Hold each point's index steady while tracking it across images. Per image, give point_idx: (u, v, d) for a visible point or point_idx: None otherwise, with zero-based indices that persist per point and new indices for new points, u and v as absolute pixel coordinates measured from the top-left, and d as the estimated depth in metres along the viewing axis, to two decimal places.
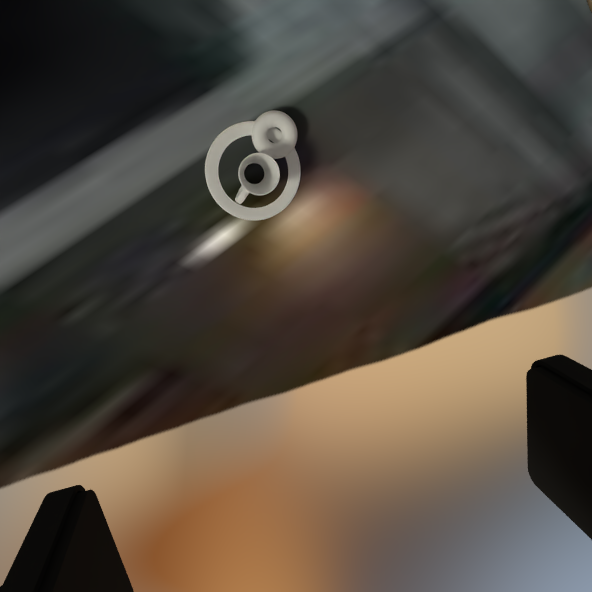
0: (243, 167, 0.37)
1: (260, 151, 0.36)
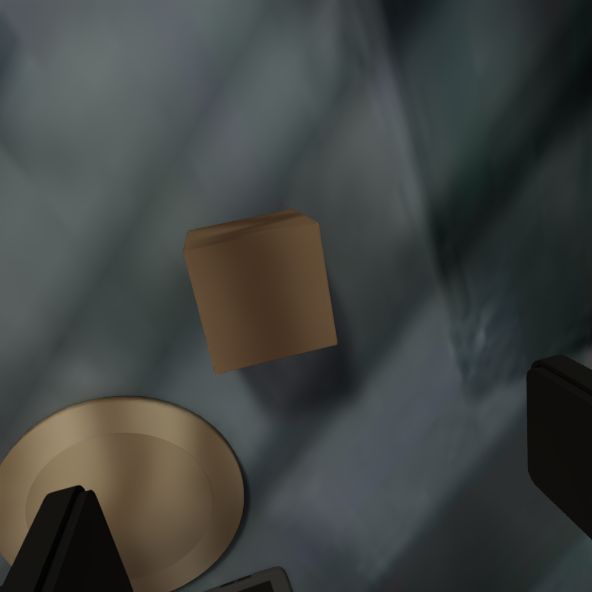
0: None
1: None
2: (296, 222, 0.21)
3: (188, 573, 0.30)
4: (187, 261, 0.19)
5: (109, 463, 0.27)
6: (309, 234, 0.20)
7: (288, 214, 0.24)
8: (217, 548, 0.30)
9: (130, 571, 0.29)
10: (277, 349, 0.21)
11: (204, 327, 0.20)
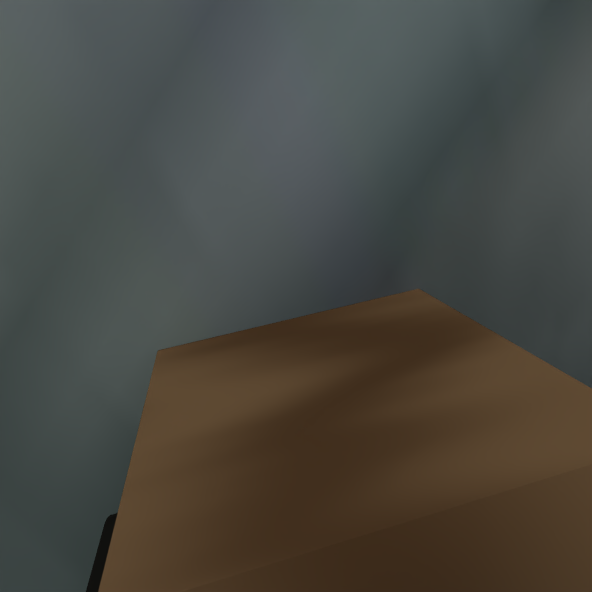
0: None
1: None
2: (530, 397, 0.06)
3: None
4: None
5: None
6: None
7: (431, 319, 0.09)
8: None
9: None
10: None
11: None
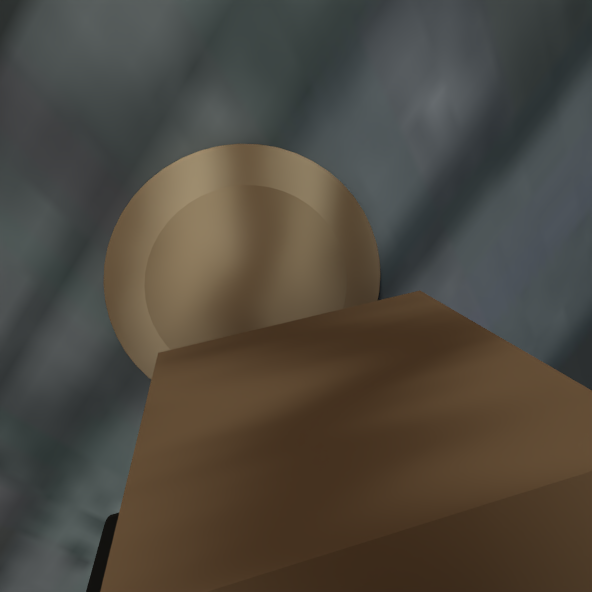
0: None
1: None
2: (533, 401, 0.06)
3: None
4: None
5: (240, 225, 0.23)
6: None
7: (433, 321, 0.09)
8: None
9: None
10: None
11: None
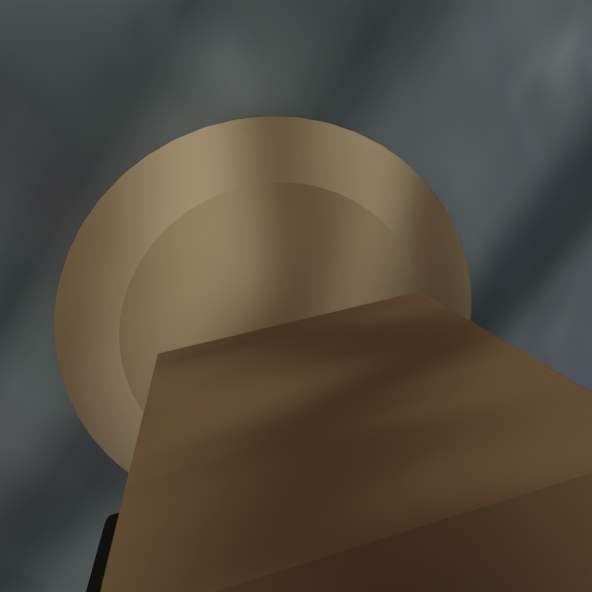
0: None
1: None
2: (533, 402, 0.06)
3: None
4: None
5: (267, 244, 0.15)
6: None
7: (433, 322, 0.09)
8: None
9: None
10: None
11: None
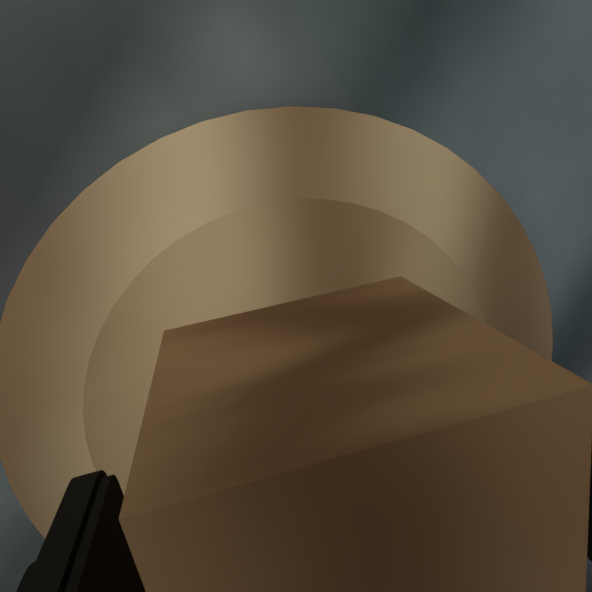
0: None
1: None
2: (483, 359, 0.07)
3: None
4: (136, 550, 0.05)
5: (288, 283, 0.11)
6: (559, 422, 0.06)
7: (408, 301, 0.10)
8: None
9: None
10: None
11: None
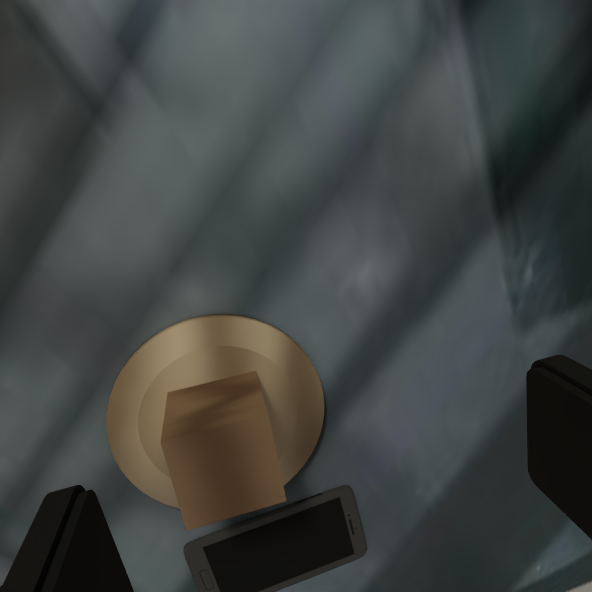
0: None
1: None
2: (252, 406, 0.26)
3: None
4: (163, 449, 0.24)
5: (212, 374, 0.30)
6: (261, 423, 0.25)
7: (249, 384, 0.29)
8: (298, 461, 0.33)
9: None
10: (237, 508, 0.26)
11: (177, 496, 0.25)
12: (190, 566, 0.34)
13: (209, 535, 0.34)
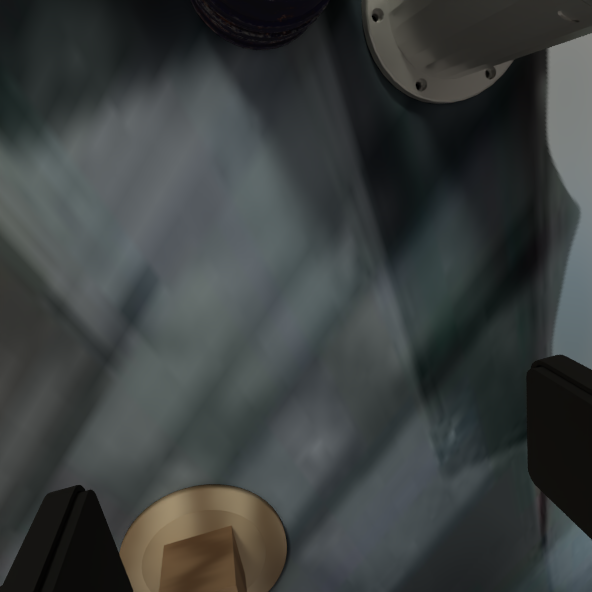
0: None
1: None
2: (225, 573, 0.35)
3: None
4: None
5: (198, 530, 0.39)
6: (230, 590, 0.34)
7: (225, 543, 0.38)
8: (267, 585, 0.43)
9: None
10: None
11: None
12: None
13: None
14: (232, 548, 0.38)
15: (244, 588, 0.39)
